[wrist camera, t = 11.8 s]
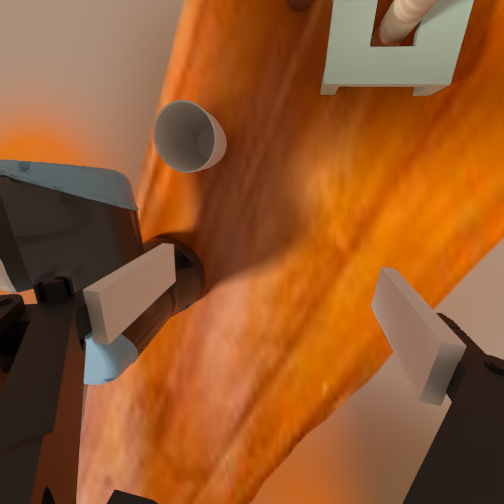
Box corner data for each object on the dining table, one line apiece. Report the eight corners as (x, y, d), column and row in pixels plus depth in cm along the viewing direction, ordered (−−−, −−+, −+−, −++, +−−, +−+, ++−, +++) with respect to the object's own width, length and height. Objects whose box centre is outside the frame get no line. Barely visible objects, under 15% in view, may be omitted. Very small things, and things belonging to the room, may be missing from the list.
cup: (232, 112, 37) (211, 95, 28) (238, 168, 40) (220, 169, 31) (183, 119, 39) (147, 105, 30) (191, 172, 41) (161, 175, 32)
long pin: (368, 57, 32) (431, -35, 17) (373, 24, 31) (446, -105, 16) (396, 56, 32) (485, -39, 17) (402, 23, 30) (504, -111, 16)
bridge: (320, 94, 34) (323, 83, 30) (334, -18, 30) (340, -51, 26) (428, 95, 32) (450, 84, 28) (459, -25, 28) (491, -62, 24)
